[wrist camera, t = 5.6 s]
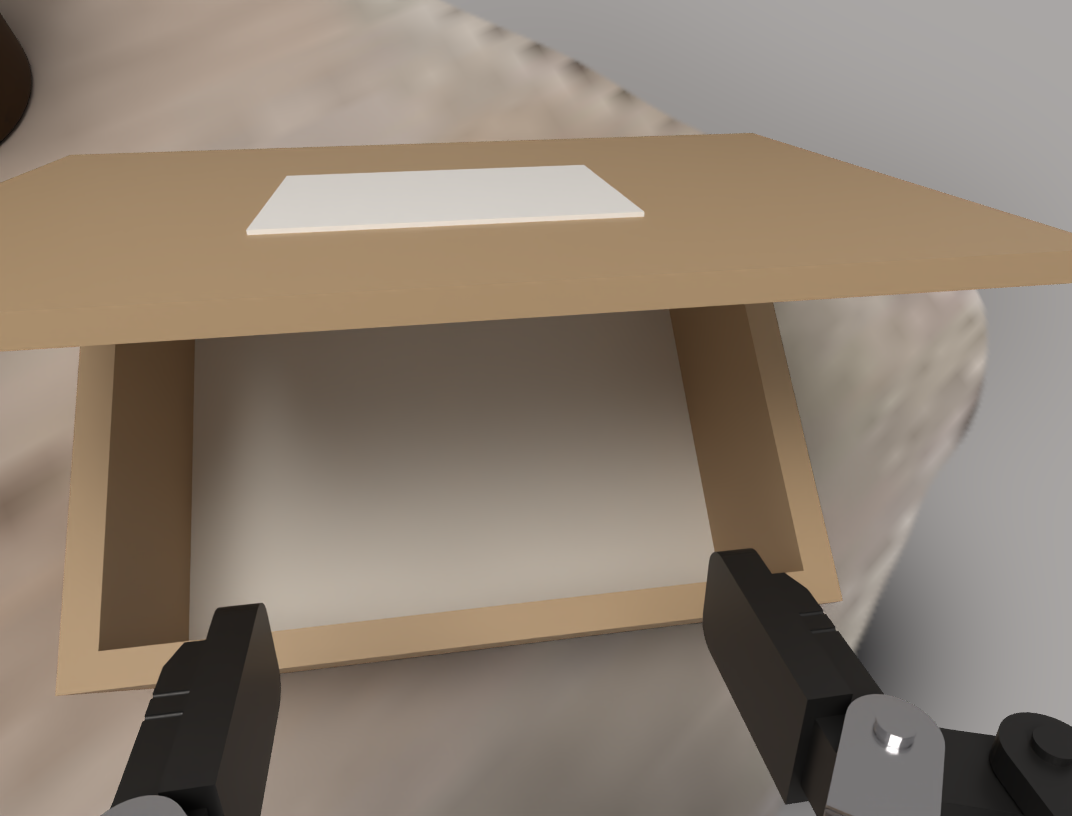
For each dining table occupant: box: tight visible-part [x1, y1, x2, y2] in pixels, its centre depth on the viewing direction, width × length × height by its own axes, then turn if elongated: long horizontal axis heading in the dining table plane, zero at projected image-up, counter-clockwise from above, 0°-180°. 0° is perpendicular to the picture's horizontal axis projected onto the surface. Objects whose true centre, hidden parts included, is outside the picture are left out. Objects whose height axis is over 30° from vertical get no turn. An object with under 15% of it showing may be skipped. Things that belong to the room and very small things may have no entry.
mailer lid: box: [0, 133, 1072, 351], centre depth 19 cm, size 16×23×1 cm
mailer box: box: [55, 302, 843, 696], centre depth 28 cm, size 16×22×8 cm
